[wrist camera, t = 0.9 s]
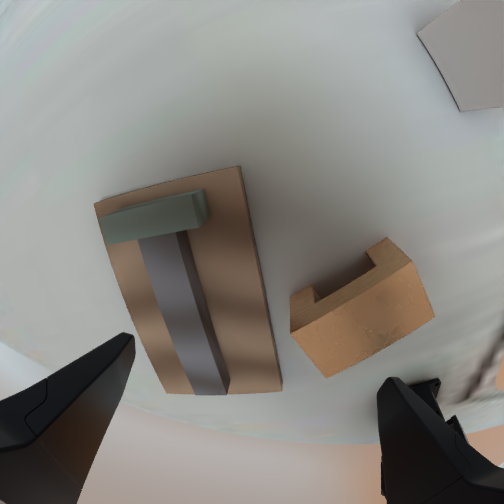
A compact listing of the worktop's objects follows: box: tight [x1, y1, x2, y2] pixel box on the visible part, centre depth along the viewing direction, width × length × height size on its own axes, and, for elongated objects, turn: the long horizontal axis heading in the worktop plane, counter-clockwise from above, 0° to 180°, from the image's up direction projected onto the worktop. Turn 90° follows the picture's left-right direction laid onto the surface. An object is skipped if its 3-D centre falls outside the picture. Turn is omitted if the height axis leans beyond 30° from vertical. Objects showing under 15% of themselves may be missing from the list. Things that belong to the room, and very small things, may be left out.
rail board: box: [94, 166, 282, 395], centre depth 22 cm, size 20×12×4 cm, turn 11°
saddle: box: [290, 237, 435, 378], centre depth 20 cm, size 5×9×5 cm, turn 126°
